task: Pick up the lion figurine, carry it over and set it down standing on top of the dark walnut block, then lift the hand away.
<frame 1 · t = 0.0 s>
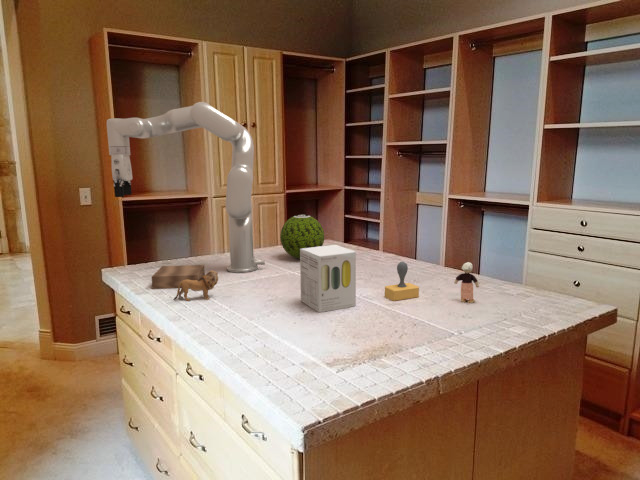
hand: (123, 195, 183), 31 cm above the counter, tool pointing down, fingers open, 9 cm apart
lion figurine: (198, 298, 155), on the counter
decorative ball: (302, 258, 212), on the counter
walnut block: (180, 283, 175), on the counter
grandmother figurine: (465, 301, 149), on the counter
rubber stamp: (401, 297, 154), on the counter
supplement box: (327, 304, 148), on the counter
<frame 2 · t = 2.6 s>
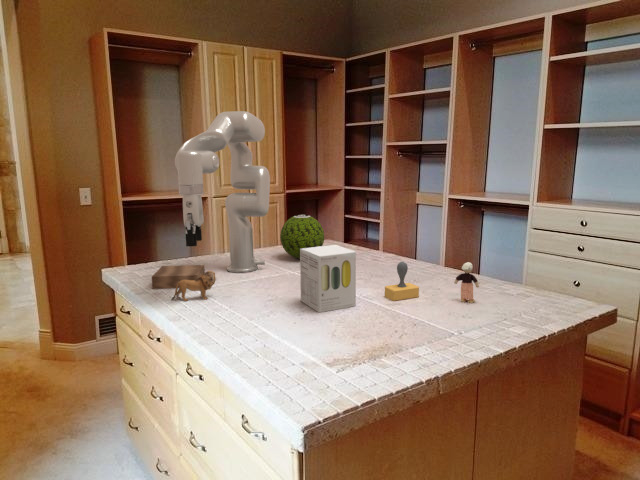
hand: (194, 243, 152), 19 cm above the counter, tool pointing down, fingers open, 9 cm apart
nothing on the counter moved.
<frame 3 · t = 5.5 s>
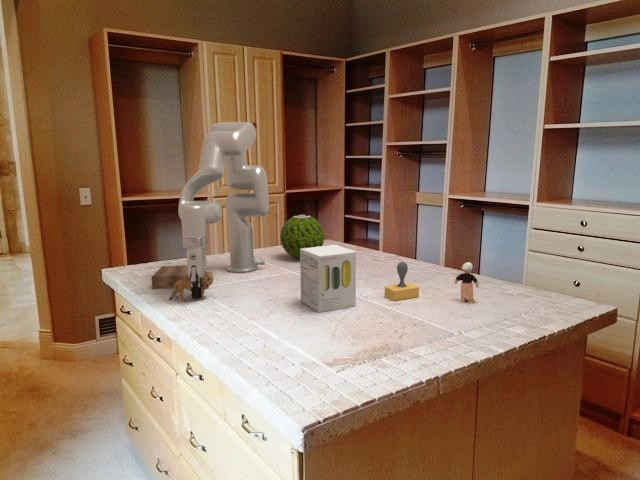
hand: (198, 295, 155), 1 cm above the counter, tool pointing down, fingers closed on lion figurine, 4 cm apart
lion figurine: (193, 299, 155), on the counter, touching gripper
everything else where it was.
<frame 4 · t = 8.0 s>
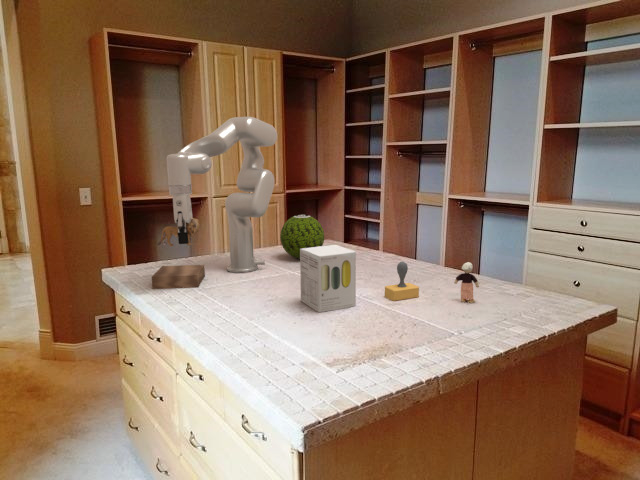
hand: (184, 241, 164), 17 cm above the counter, tool pointing down, fingers closed on lion figurine, 4 cm apart
lion figurine: (180, 245, 164), point 16 cm above the counter, touching gripper
everything else where it was.
when the fingers open (7 cm above the counter, at t = 10.9 s): lion figurine drops 2 cm, resting on walnut block.
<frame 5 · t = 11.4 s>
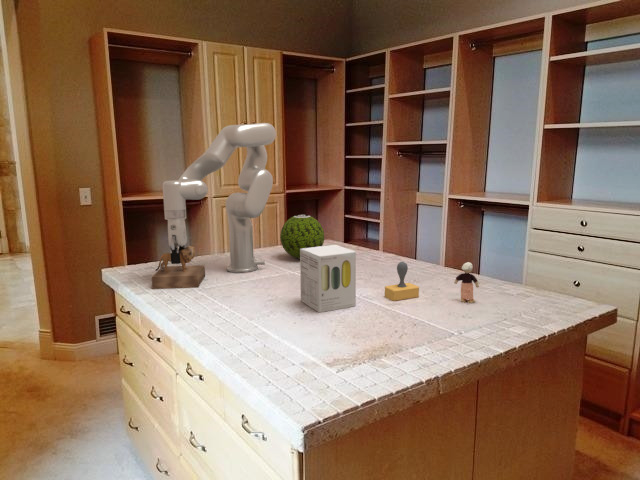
hand: (178, 260, 173), 8 cm above the counter, tool pointing down, fingers open, 9 cm apart
lion figurine: (177, 270, 174), point 4 cm above the counter, touching walnut block
walnut block: (180, 283, 175), on the counter, touching lion figurine
everything else where it was.
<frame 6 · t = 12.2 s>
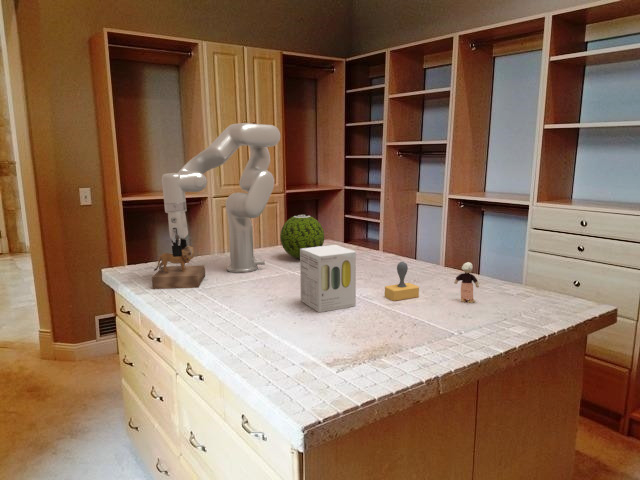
hand: (180, 253, 173), 11 cm above the counter, tool pointing down, fingers open, 9 cm apart
lion figurine: (176, 271, 174), point 4 cm above the counter
walnut block: (180, 283, 174), on the counter
everything else where it was.
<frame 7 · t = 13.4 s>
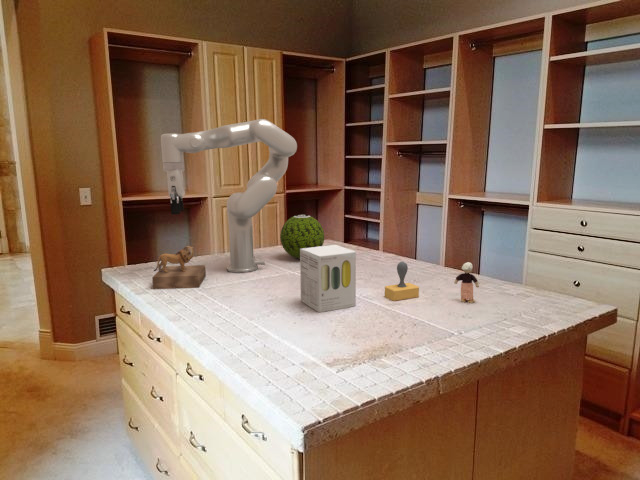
hand: (177, 212, 178), 25 cm above the counter, tool pointing down, fingers open, 9 cm apart
lion figurine: (175, 271, 174), point 4 cm above the counter, touching walnut block
walnut block: (180, 283, 174), on the counter, touching lion figurine
everything else where it was.
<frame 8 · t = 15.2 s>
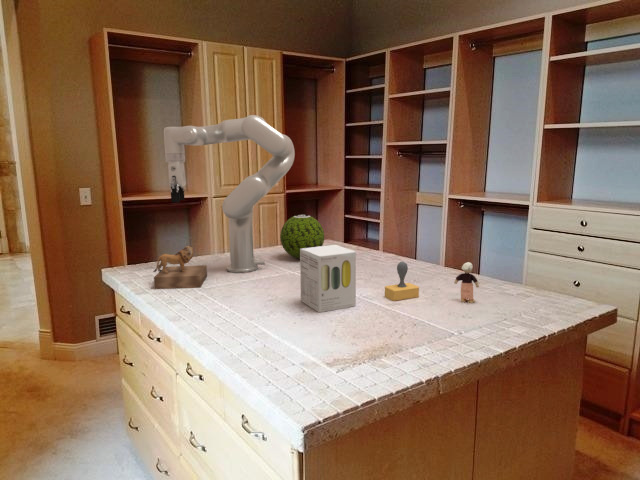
hand: (178, 201, 190), 28 cm above the counter, tool pointing down, fingers open, 9 cm apart
nothing on the counter moved.
at the end: lion figurine inside the target area on the walnut block (2.0 cm from its centre), point 4.8 cm above the walnut block's base; lion figurine tilted 0°; the gripper is holding nothing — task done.
